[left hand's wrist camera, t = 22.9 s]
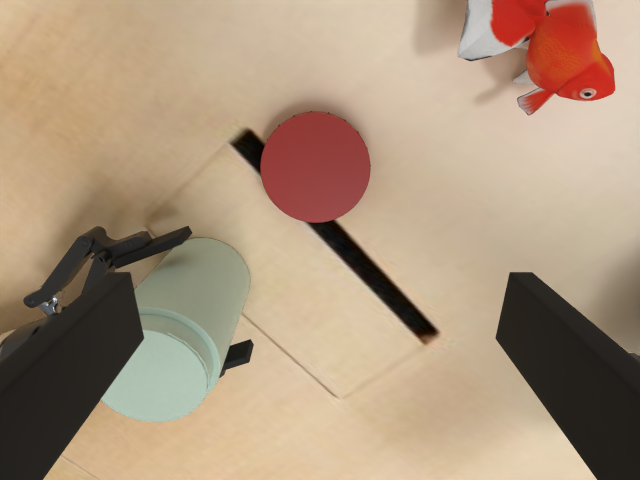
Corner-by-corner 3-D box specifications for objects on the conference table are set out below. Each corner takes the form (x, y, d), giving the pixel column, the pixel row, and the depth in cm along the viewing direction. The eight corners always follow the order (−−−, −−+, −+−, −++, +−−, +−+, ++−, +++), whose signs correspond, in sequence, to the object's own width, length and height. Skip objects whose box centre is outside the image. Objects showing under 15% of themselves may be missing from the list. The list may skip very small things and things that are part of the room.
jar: (222, 328, 43) (176, 445, 29) (148, 286, 41) (57, 391, 27) (266, 268, 40) (239, 366, 26) (188, 220, 38) (111, 297, 24)
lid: (334, 89, 33) (335, 88, 31) (385, 183, 37) (389, 188, 35) (242, 148, 35) (238, 151, 33) (299, 233, 39) (298, 240, 37)
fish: (497, 171, 31) (585, 111, 22) (392, 35, 33) (429, -78, 24) (588, 110, 33) (710, 27, 23) (483, -18, 35) (553, -145, 25)
